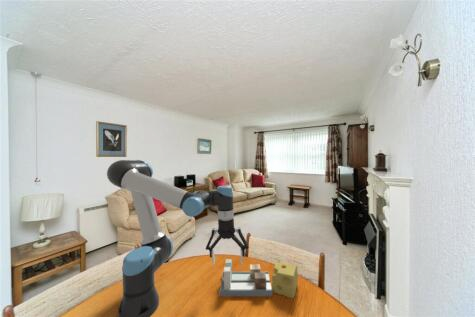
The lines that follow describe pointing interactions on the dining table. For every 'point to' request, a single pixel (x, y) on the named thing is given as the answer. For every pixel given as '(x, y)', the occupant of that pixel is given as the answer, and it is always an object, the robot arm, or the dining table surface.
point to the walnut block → (260, 280)
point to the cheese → (285, 279)
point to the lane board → (244, 291)
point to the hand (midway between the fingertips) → (227, 263)
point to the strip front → (238, 285)
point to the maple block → (254, 270)
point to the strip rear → (239, 276)
